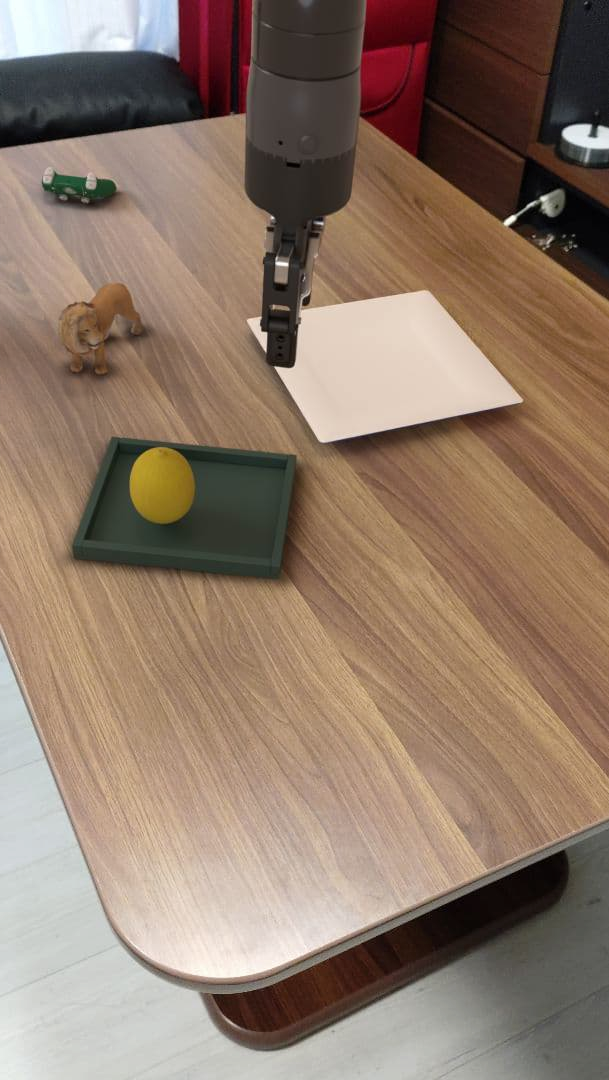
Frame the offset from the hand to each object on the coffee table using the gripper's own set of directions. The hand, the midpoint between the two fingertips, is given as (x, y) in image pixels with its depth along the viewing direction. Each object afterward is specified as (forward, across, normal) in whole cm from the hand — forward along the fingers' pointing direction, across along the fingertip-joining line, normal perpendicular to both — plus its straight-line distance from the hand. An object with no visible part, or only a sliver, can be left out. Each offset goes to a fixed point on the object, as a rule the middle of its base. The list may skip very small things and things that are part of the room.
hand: (289, 332), depth 77 cm
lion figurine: (+19, -18, -21) cm, 34 cm away
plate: (+18, -21, +8) cm, 29 cm away
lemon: (+18, +6, -9) cm, 21 cm away
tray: (+18, +4, -7) cm, 20 cm away
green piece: (+20, -52, -35) cm, 66 cm away
